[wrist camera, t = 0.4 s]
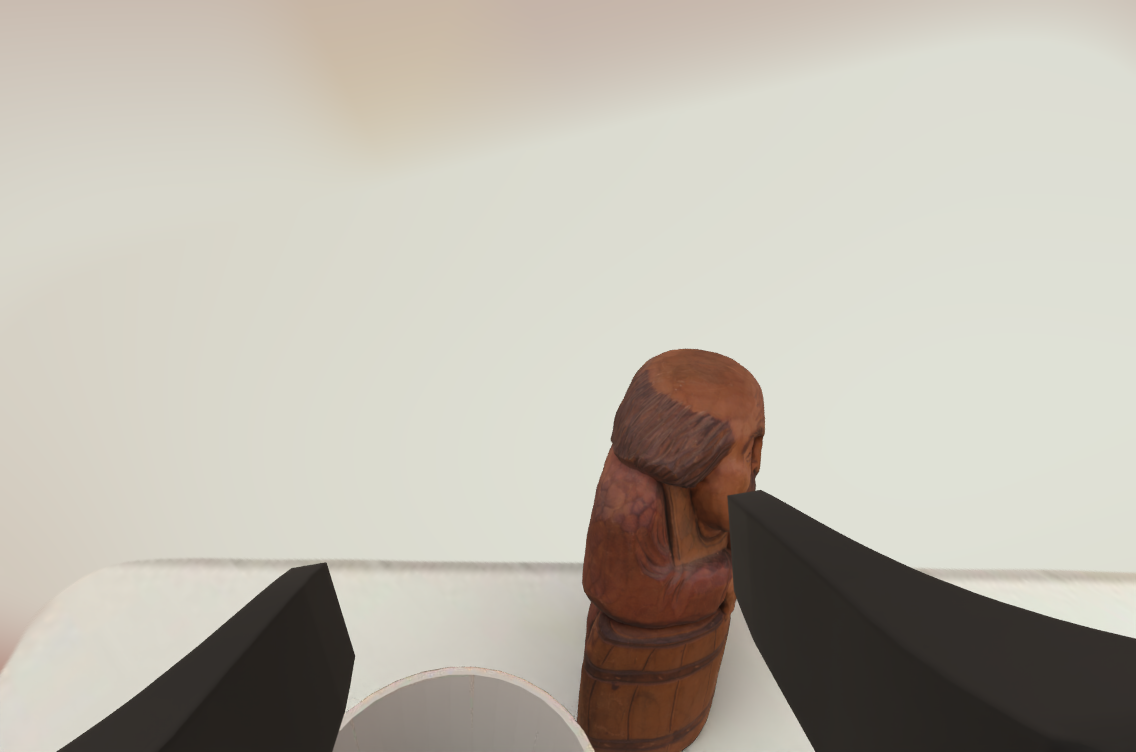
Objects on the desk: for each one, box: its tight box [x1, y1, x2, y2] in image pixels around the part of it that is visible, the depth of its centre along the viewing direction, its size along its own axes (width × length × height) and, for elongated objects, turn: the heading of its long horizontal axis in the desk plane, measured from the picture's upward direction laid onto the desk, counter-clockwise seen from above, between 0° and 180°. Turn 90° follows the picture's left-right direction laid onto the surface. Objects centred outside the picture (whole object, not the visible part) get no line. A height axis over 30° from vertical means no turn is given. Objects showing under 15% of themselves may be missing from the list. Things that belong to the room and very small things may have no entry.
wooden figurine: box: [577, 349, 765, 752], centre depth 29 cm, size 12×6×18 cm, turn 162°
